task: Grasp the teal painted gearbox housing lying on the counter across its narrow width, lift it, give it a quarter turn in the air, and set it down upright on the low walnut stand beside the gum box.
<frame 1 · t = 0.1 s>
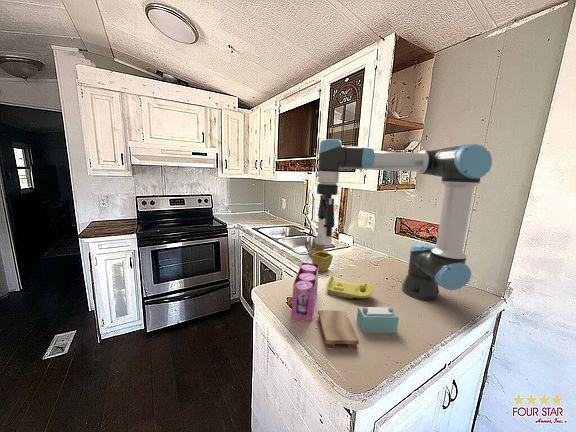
hand: (323, 239, 91), 28 cm above the worktop, fingers open, 13 cm apart
stand: (335, 331, 80), on the worktop
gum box: (305, 304, 97), on the worktop
flower pot: (321, 270, 133), on the worktop
housing: (375, 327, 84), on the worktop
plastic component: (349, 295, 107), on the worktop
candle holder: (319, 257, 153), on the worktop
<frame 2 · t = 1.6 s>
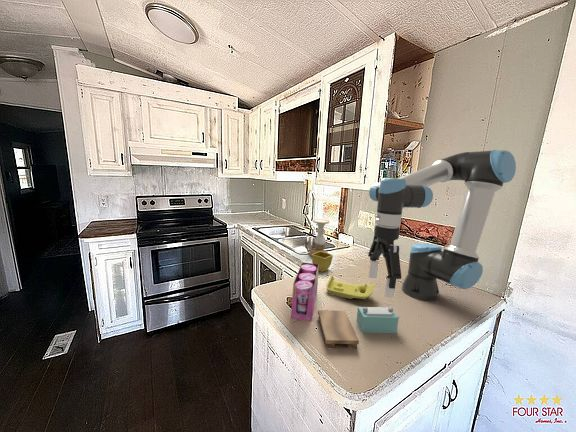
hand: (380, 286, 81), 15 cm above the worktop, fingers open, 13 cm apart
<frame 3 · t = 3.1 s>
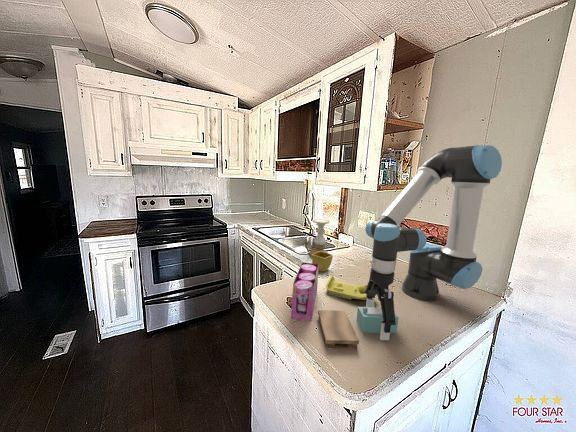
hand: (376, 326, 84), 0 cm above the worktop, fingers open, 13 cm apart
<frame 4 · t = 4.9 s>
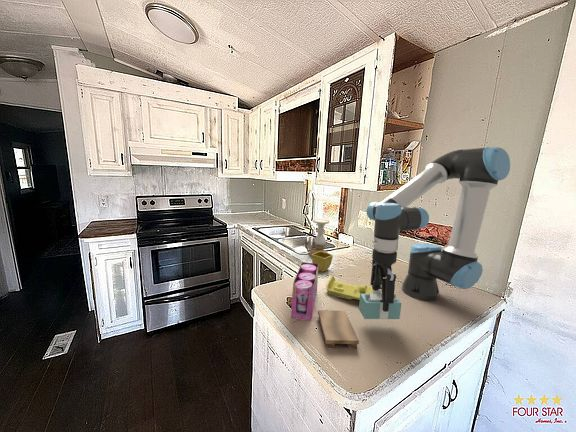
hand: (379, 312, 83), 5 cm above the worktop, fingers closed on housing, 6 cm apart
housing: (378, 313, 83), point 5 cm above the worktop, touching gripper
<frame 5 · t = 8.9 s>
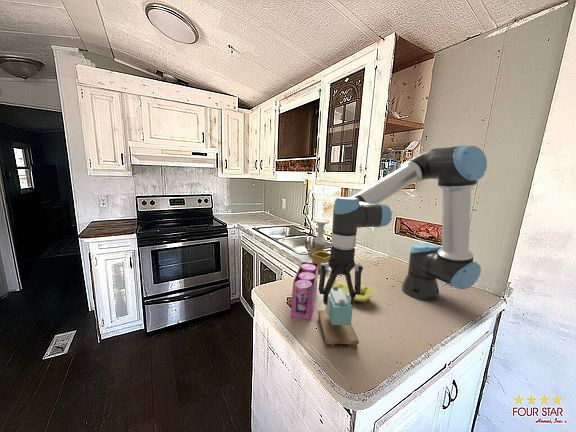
hand: (337, 312, 79), 7 cm above the worktop, fingers closed on housing, 6 cm apart
housing: (336, 313, 79), point 7 cm above the worktop, touching gripper
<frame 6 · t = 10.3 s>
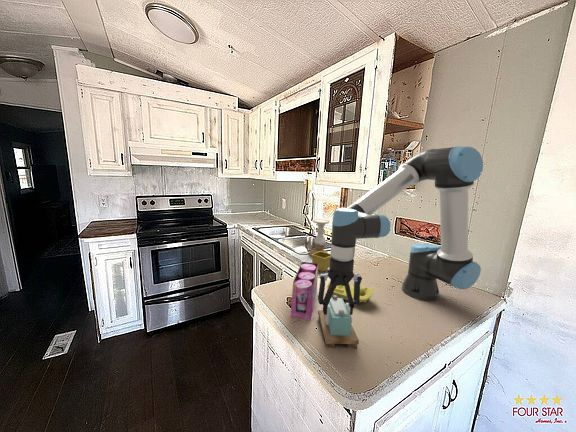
hand: (336, 322, 80), 4 cm above the worktop, fingers closed on housing, 6 cm apart
housing: (336, 323, 80), point 3 cm above the worktop, touching gripper, stand
when the fingers open (4 cm above the worktop, at t = 10.4 s): housing stays where it is, resting on stand.
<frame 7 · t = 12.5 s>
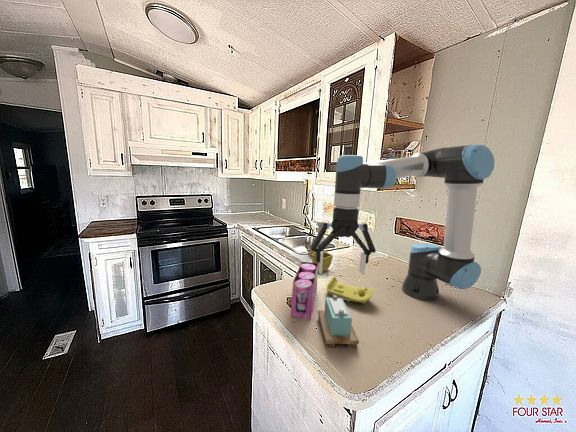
hand: (340, 272, 77), 21 cm above the worktop, fingers open, 13 cm apart
housing: (336, 323, 80), point 3 cm above the worktop, touching stand
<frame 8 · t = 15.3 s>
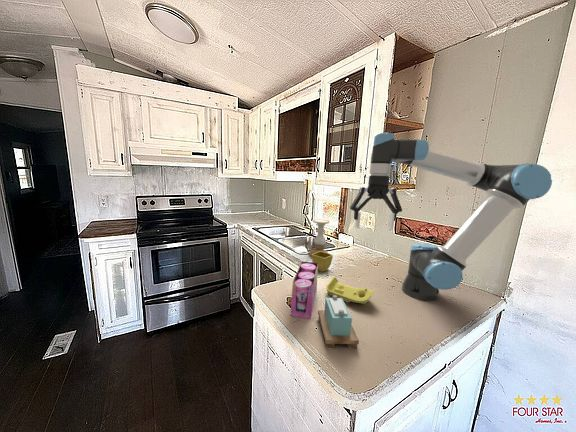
hand: (373, 228, 96), 32 cm above the worktop, fingers open, 13 cm apart
at the end: housing inside the target area on the stand (0.2 cm from its centre), point 3.0 cm above the stand's base; housing tilted 0°; the gripper is holding nothing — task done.
